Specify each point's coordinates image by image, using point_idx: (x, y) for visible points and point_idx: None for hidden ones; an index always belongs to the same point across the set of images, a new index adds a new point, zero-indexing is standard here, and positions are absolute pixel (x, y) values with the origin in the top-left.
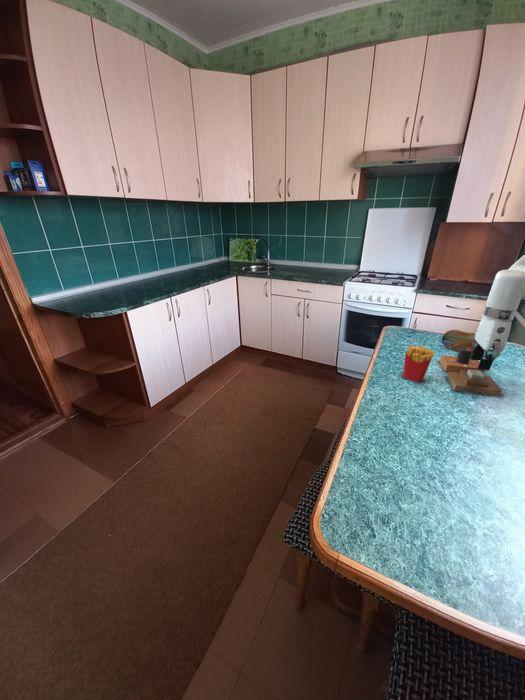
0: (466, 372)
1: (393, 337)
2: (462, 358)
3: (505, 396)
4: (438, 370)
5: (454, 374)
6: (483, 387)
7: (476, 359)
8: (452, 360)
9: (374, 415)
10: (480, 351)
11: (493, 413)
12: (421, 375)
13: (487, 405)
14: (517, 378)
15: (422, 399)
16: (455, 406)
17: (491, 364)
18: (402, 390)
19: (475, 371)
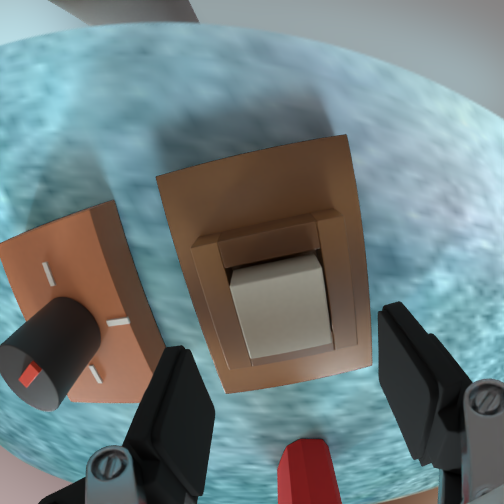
0: (245, 344)
1: (31, 456)
2: (85, 360)
3: (319, 102)
4: None
5: (247, 372)
6: (349, 237)
7: (201, 385)
8: (96, 373)
9: None
10: (181, 454)
11: (487, 203)
12: (332, 466)
13: (444, 215)
14: (69, 36)
15: None
16: (470, 333)
17: (428, 337)
18: (397, 459)
19: (264, 320)
